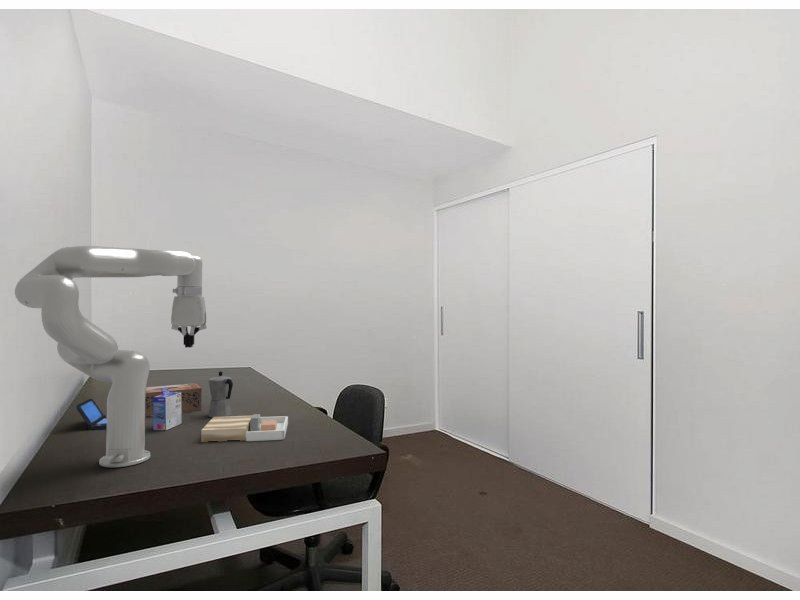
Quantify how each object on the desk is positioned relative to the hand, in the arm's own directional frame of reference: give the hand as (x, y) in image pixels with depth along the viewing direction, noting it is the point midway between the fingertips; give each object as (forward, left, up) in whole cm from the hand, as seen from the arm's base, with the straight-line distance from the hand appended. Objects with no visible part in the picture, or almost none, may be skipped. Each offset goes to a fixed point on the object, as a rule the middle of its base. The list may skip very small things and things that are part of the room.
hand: (188, 347), depth 150 cm
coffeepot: (+34, -4, -31) cm, 46 cm away
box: (+6, -25, -31) cm, 40 cm away
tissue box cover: (+46, +21, -32) cm, 60 cm away
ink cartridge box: (+19, +12, -31) cm, 39 cm away
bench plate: (+6, -12, -31) cm, 34 cm away
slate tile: (+6, -20, -28) cm, 35 cm away
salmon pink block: (+6, -26, -28) cm, 38 cm away
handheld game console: (+27, +37, -32) cm, 55 cm away
